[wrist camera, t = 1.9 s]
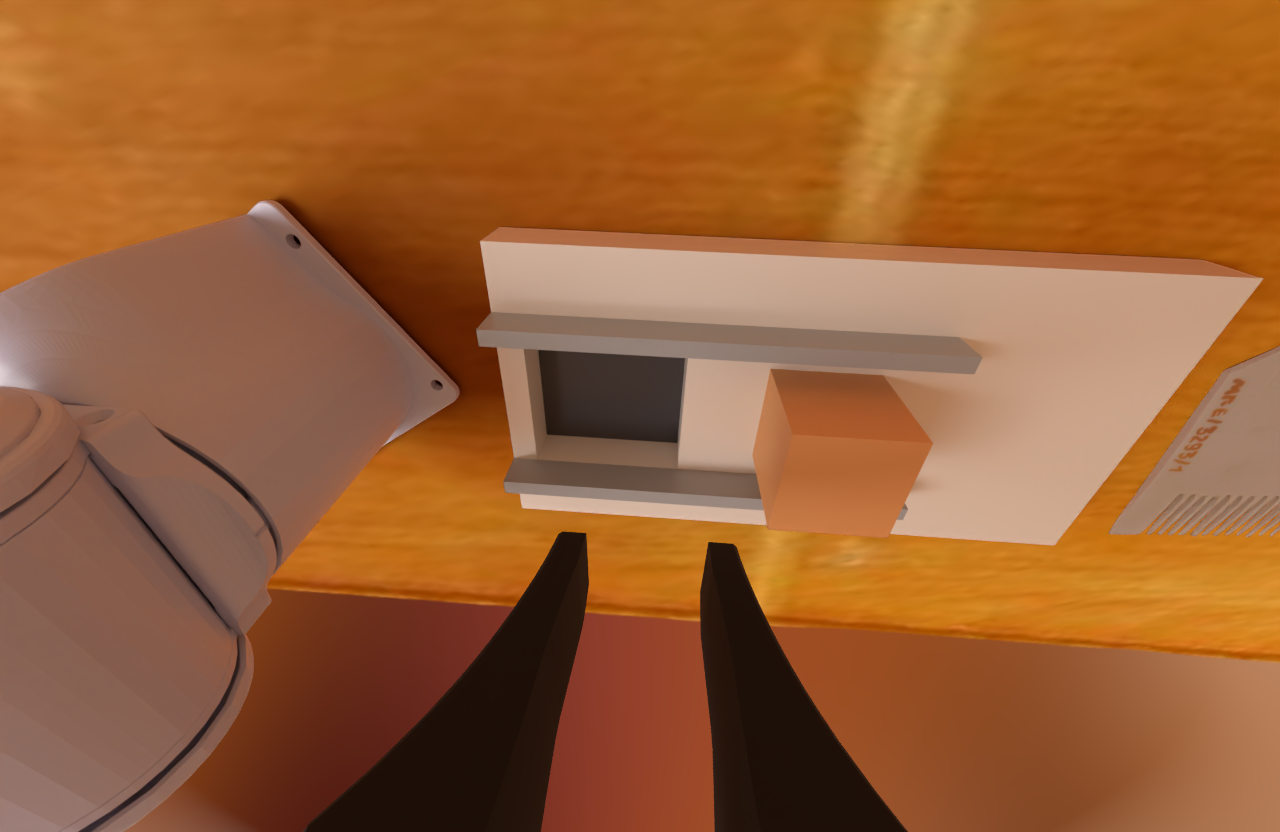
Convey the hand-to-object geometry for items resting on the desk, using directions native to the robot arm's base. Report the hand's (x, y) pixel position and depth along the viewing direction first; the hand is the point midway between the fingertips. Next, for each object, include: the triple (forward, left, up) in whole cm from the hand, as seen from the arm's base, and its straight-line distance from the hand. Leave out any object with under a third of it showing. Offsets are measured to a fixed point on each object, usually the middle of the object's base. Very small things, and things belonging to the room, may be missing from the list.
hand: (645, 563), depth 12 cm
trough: (+3, +5, -9) cm, 11 cm away
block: (+3, +5, -7) cm, 10 cm away
